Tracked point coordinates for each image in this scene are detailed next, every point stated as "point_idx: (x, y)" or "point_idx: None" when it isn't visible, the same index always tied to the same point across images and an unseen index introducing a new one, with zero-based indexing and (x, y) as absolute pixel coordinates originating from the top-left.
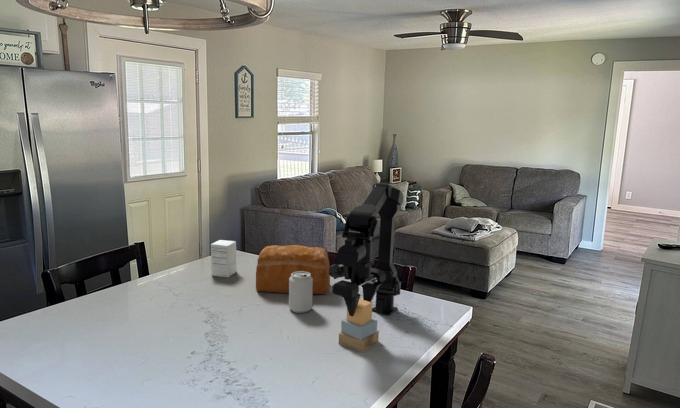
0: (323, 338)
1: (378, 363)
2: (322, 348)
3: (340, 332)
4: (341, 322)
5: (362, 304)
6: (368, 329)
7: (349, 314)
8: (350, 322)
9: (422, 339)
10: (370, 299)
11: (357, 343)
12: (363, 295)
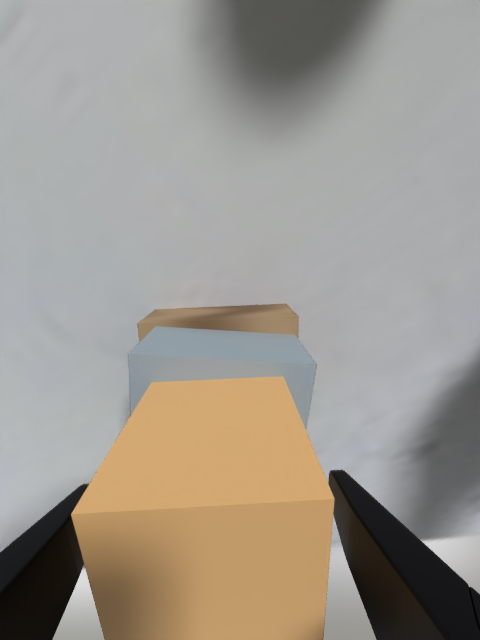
0: (147, 215)
1: None
2: (68, 280)
3: (153, 322)
4: (134, 347)
5: (189, 636)
6: None
7: (73, 494)
8: None
9: (392, 511)
10: (376, 634)
11: None
12: (410, 601)
